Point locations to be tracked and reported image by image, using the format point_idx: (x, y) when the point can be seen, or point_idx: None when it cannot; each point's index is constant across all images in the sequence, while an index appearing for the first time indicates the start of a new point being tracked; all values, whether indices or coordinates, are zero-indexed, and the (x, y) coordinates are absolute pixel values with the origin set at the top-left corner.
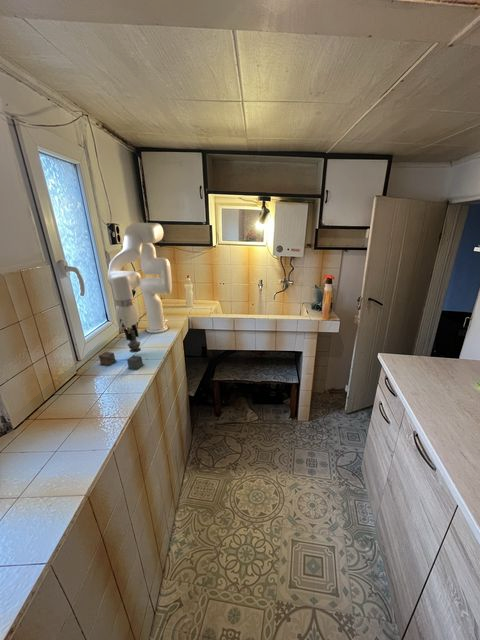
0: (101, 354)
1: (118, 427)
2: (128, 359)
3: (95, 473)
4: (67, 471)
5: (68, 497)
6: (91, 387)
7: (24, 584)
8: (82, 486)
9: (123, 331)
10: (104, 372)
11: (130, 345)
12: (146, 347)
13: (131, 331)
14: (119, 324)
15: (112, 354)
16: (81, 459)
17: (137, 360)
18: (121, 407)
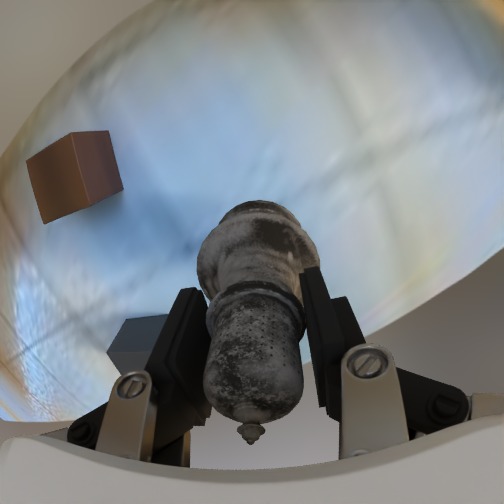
0: (39, 156)
1: (46, 418)
2: (112, 358)
3: (25, 421)
4: (4, 400)
5: (10, 413)
6: (7, 298)
7: (2, 417)
8: (18, 418)
9: (93, 420)
10: (45, 251)
11: (208, 280)
12: (385, 200)
13: (229, 417)
14: (19, 496)
15: (82, 208)
16: (12, 404)
17: None
18: (55, 405)
